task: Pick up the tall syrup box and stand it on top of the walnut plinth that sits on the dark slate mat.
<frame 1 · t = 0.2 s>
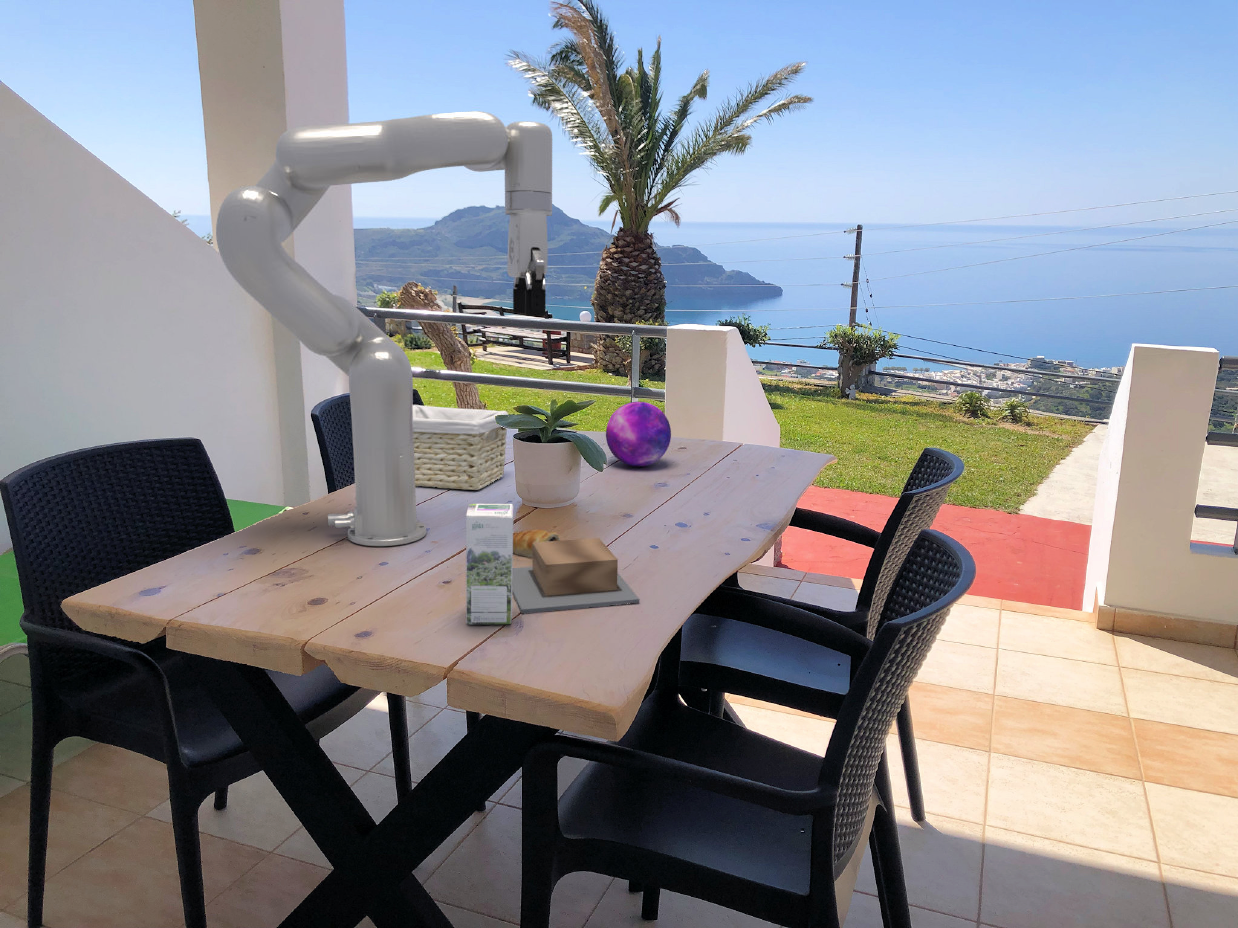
hand: (528, 314, 139), 37 cm above the table, tool pointing down, fingers open, 9 cm apart
slate mat: (568, 587, 119), on the table
decorative orb: (637, 466, 197), on the table
storage basket: (444, 481, 179), on the table
syrup box: (489, 618, 108), on the table
pastry: (532, 553, 135), on the table
plinth: (573, 584, 120), resting on slate mat
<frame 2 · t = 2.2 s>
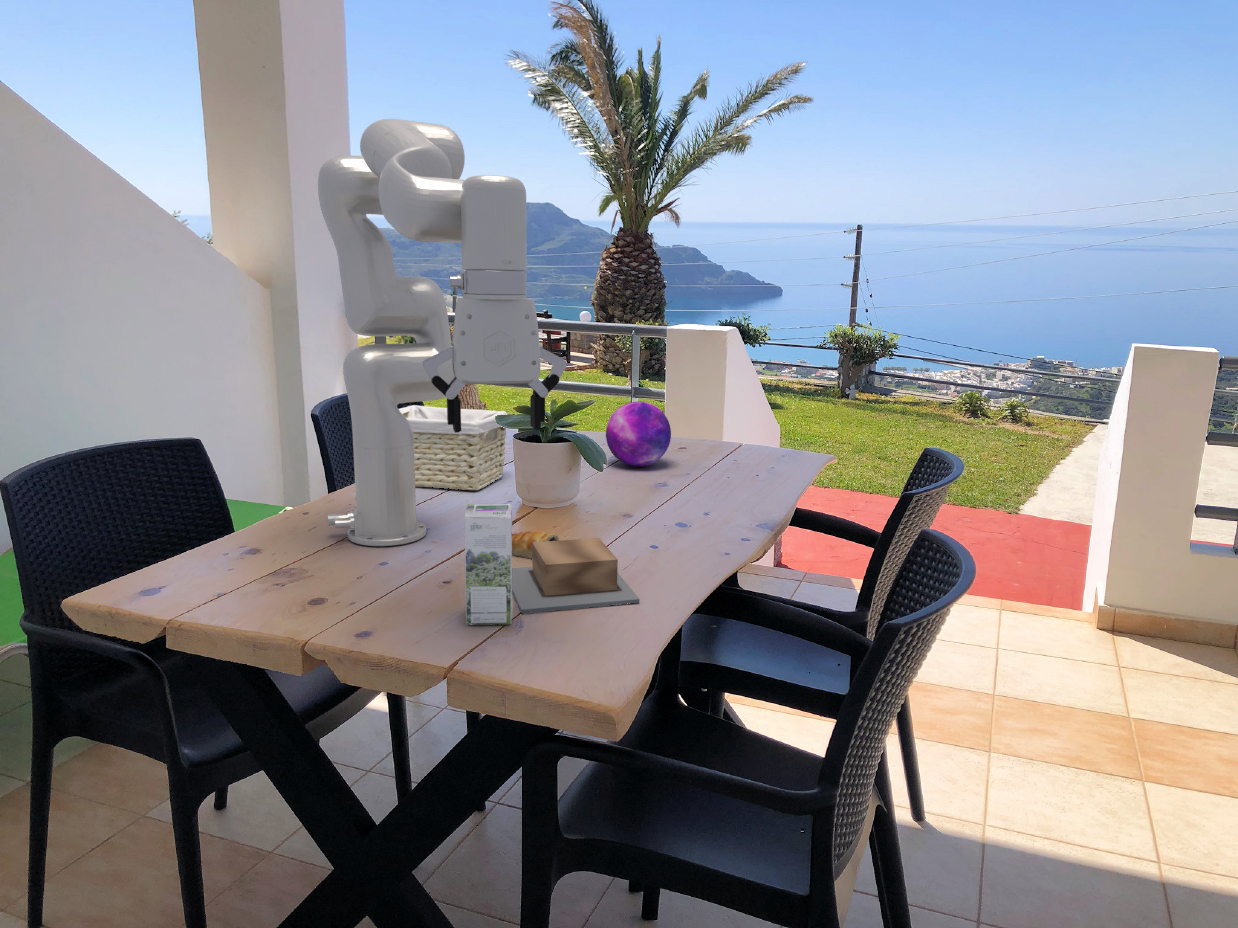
hand: (496, 429, 103), 24 cm above the table, tool pointing down, fingers open, 9 cm apart
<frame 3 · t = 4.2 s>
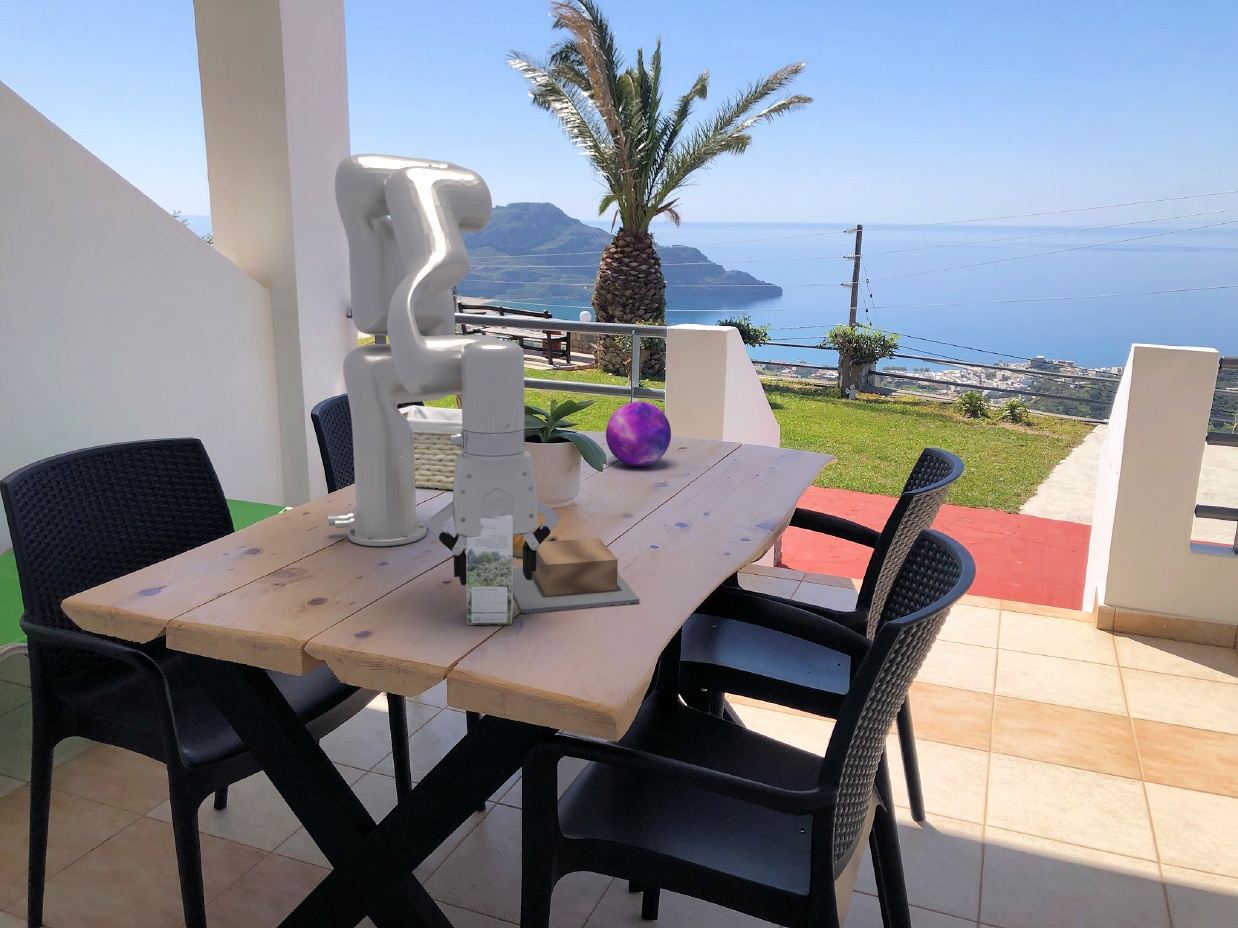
hand: (495, 578, 107), 5 cm above the table, tool pointing down, fingers open, 7 cm apart
syrup box: (490, 618, 108), on the table, touching gripper
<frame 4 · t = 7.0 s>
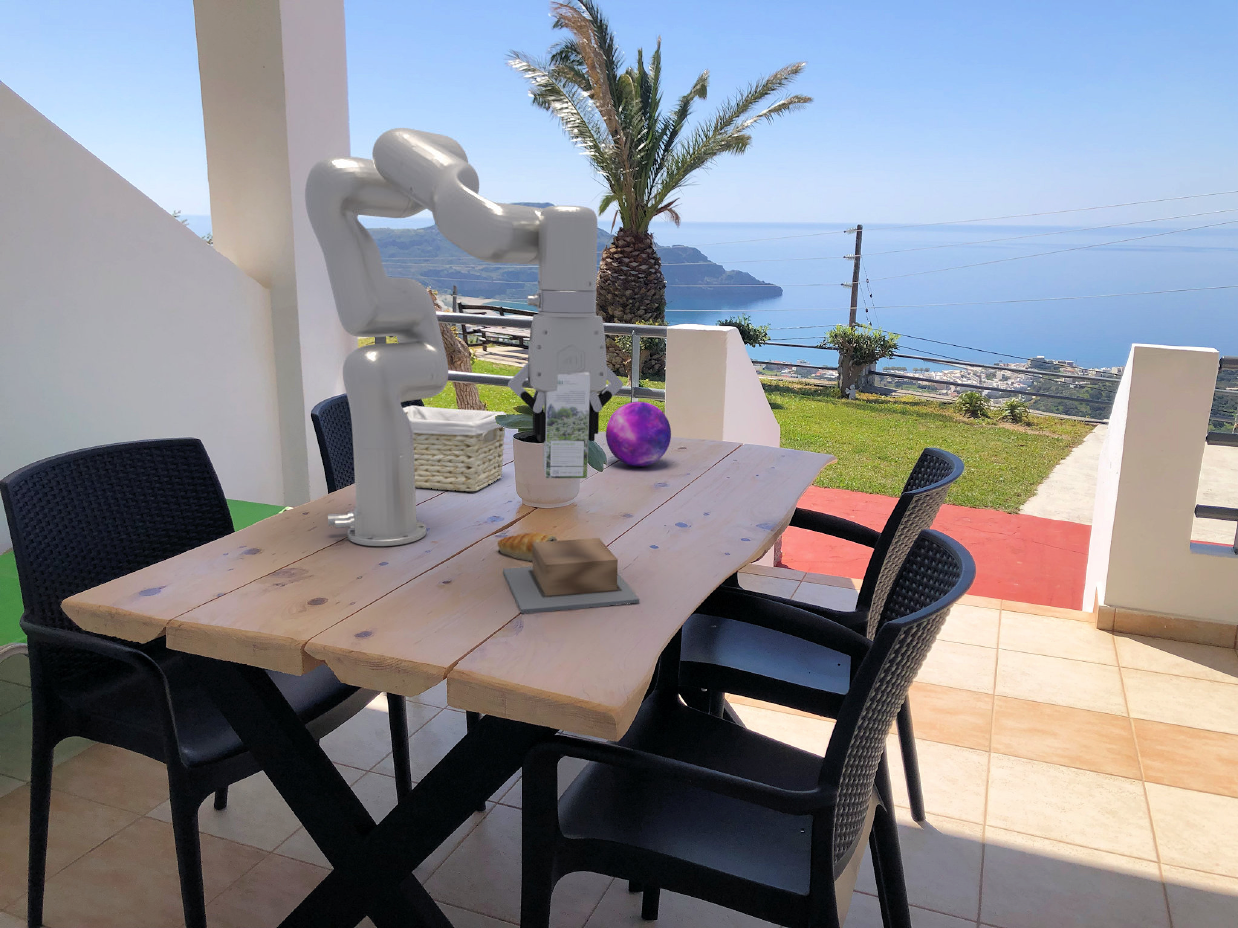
hand: (565, 438, 114), 21 cm above the table, tool pointing down, fingers closed on syrup box, 6 cm apart
syrup box: (565, 475, 116), point 16 cm above the table, touching gripper
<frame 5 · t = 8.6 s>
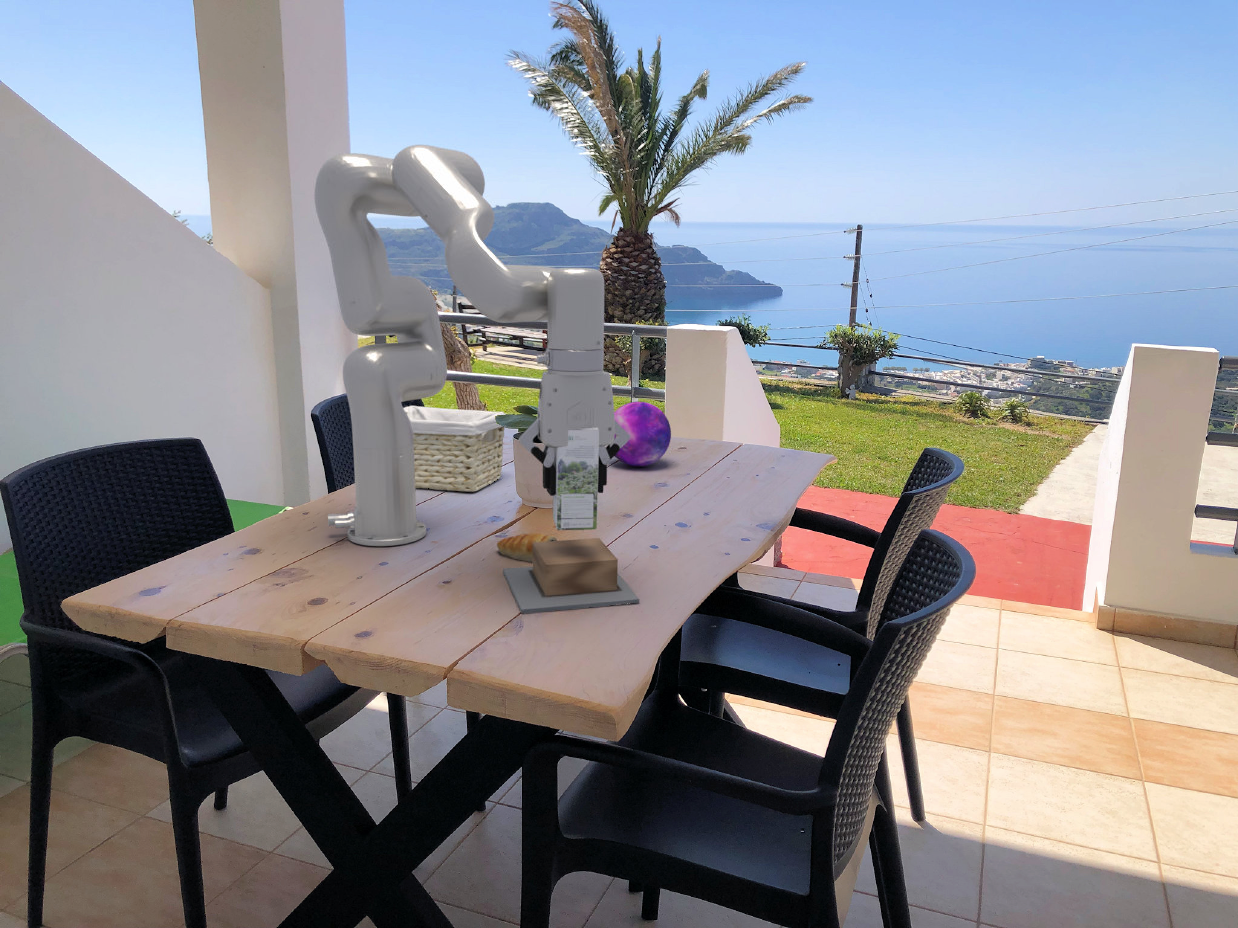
hand: (574, 490, 117), 14 cm above the table, tool pointing down, fingers closed on syrup box, 6 cm apart
syrup box: (574, 526, 119), point 9 cm above the table, touching gripper
when the fingers open (11 cm above the table, at t = 9.6 s): syrup box stays where it is, resting on plinth.
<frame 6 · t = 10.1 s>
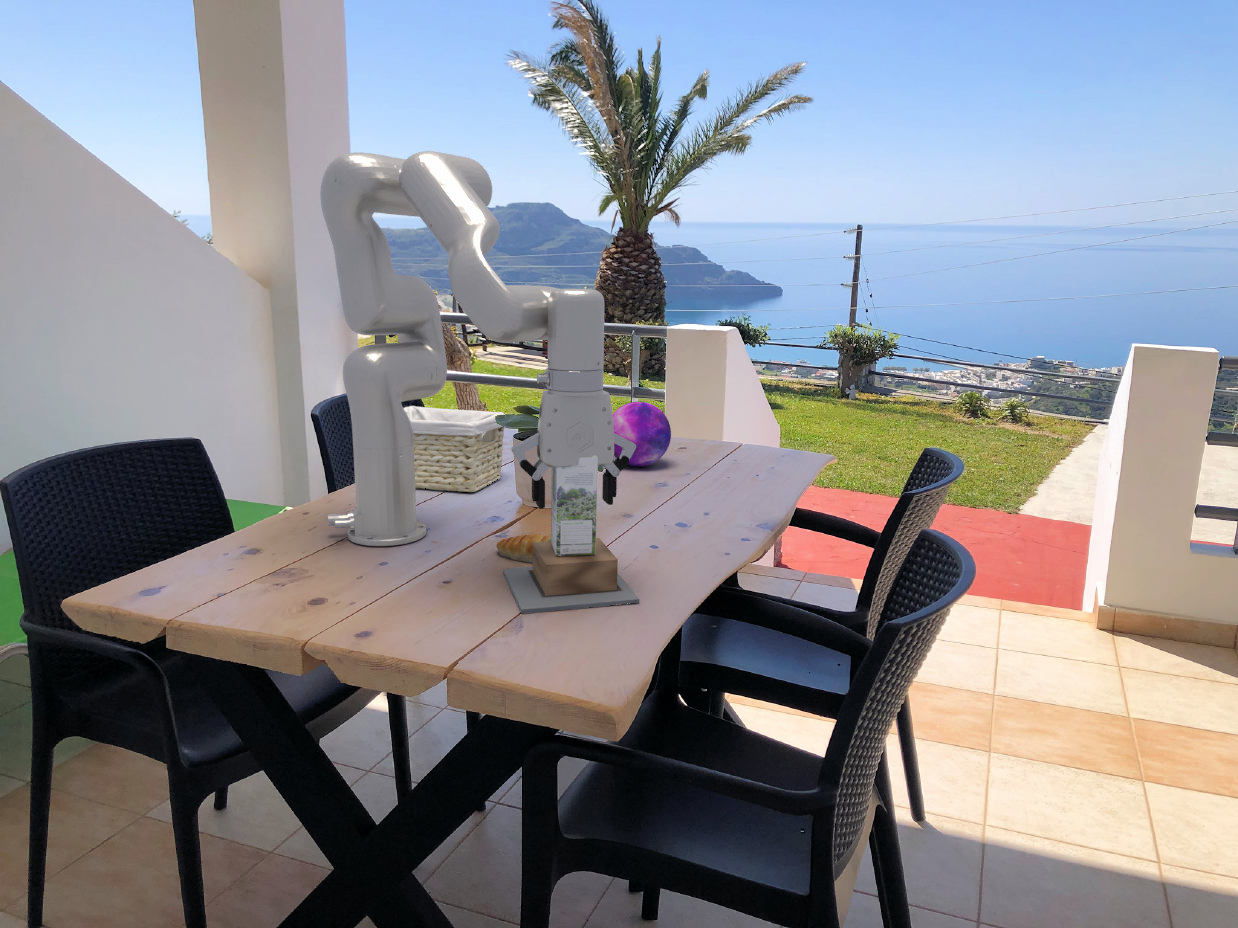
hand: (574, 504, 118), 12 cm above the table, tool pointing down, fingers open, 9 cm apart
syrup box: (573, 551, 120), point 5 cm above the table, touching plinth
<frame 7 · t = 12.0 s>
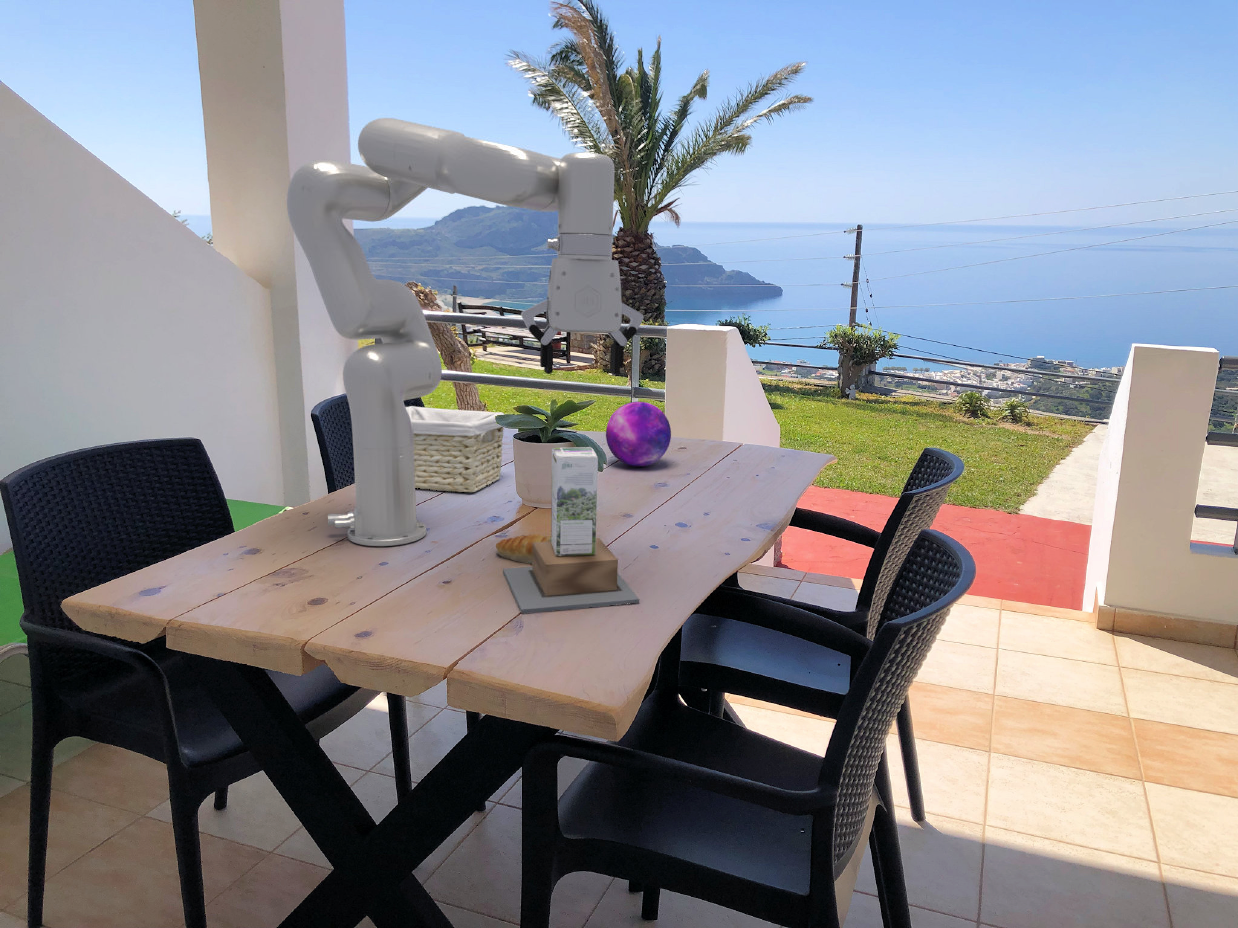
hand: (581, 372, 120), 29 cm above the table, tool pointing down, fingers open, 9 cm apart
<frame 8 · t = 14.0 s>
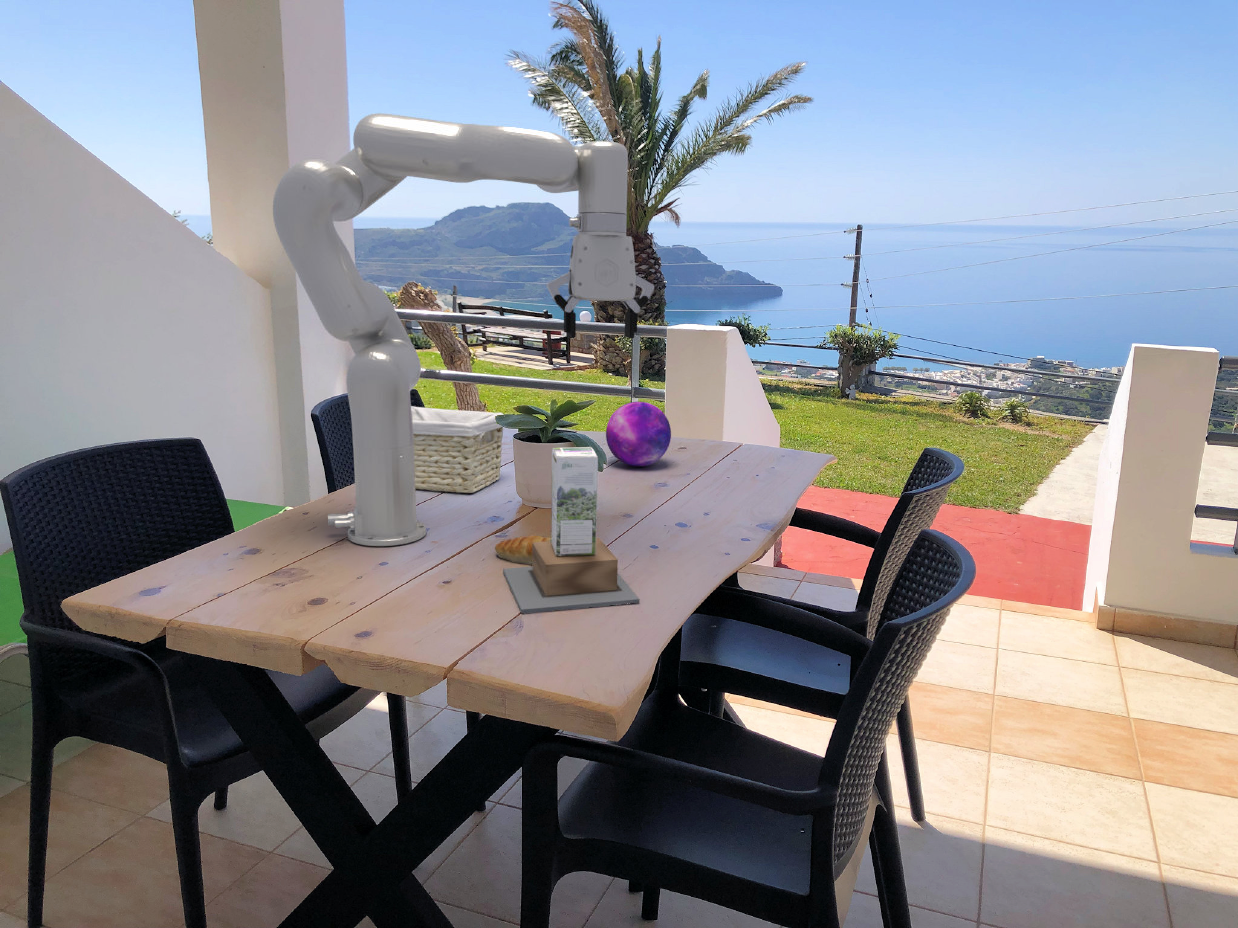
hand: (600, 337, 135), 33 cm above the table, tool pointing down, fingers open, 9 cm apart
at the end: syrup box inside the target area on the plinth (0.2 cm from its centre), point 4.8 cm above the plinth's base; syrup box tilted 0°; the gripper is holding nothing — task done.
